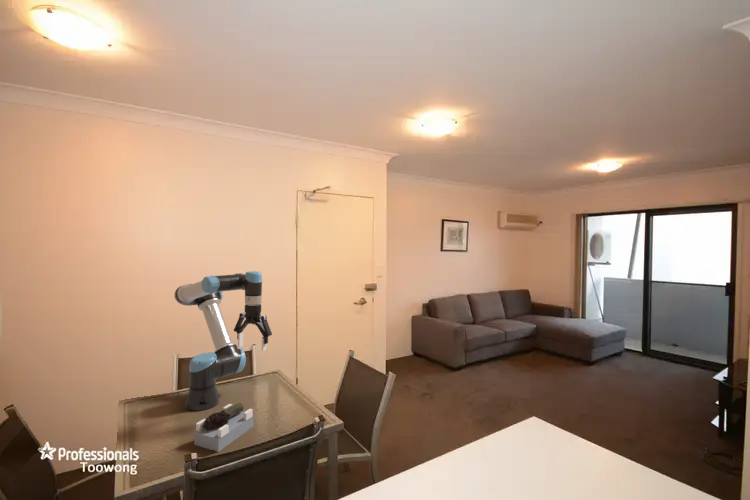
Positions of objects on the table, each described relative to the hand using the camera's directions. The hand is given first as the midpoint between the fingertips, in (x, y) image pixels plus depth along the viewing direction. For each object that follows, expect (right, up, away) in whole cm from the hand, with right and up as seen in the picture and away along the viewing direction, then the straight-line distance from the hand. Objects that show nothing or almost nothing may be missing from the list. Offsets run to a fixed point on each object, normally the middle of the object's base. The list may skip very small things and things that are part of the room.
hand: (252, 348), depth 168 cm
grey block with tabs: (-3, -29, -23) cm, 37 cm away
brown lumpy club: (-4, -25, -22) cm, 33 cm away
